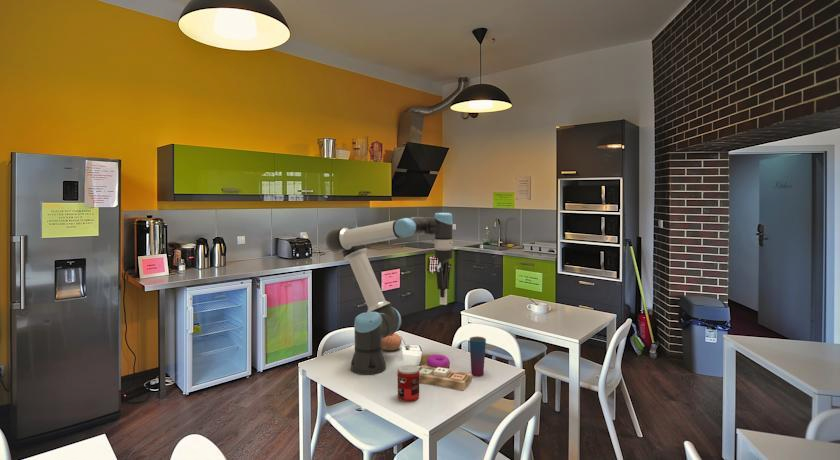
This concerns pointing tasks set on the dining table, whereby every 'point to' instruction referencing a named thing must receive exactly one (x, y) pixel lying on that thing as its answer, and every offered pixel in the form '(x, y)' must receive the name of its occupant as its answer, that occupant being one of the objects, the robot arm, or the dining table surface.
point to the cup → (477, 355)
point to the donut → (438, 361)
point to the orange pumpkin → (391, 342)
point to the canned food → (408, 383)
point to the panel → (445, 379)
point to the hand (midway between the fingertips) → (443, 304)
